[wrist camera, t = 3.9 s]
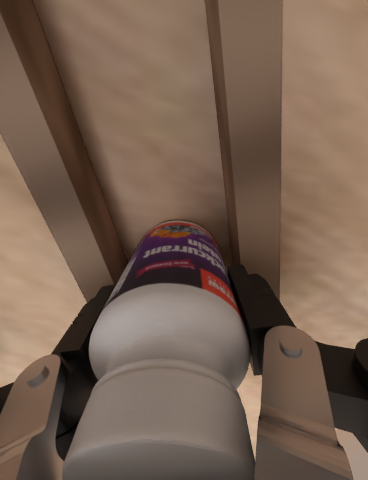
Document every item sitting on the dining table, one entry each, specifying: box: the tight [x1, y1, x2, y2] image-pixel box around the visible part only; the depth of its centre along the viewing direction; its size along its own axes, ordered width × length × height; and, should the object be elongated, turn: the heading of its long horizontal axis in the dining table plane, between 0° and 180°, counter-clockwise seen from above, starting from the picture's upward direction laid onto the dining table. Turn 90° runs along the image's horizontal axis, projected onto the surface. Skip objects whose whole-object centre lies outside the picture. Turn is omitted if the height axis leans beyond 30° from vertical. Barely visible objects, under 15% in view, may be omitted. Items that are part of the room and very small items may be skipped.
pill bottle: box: [62, 220, 255, 480], centre depth 8 cm, size 5×5×10 cm
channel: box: [0, 0, 283, 303], centre depth 9 cm, size 26×11×4 cm, turn 11°
